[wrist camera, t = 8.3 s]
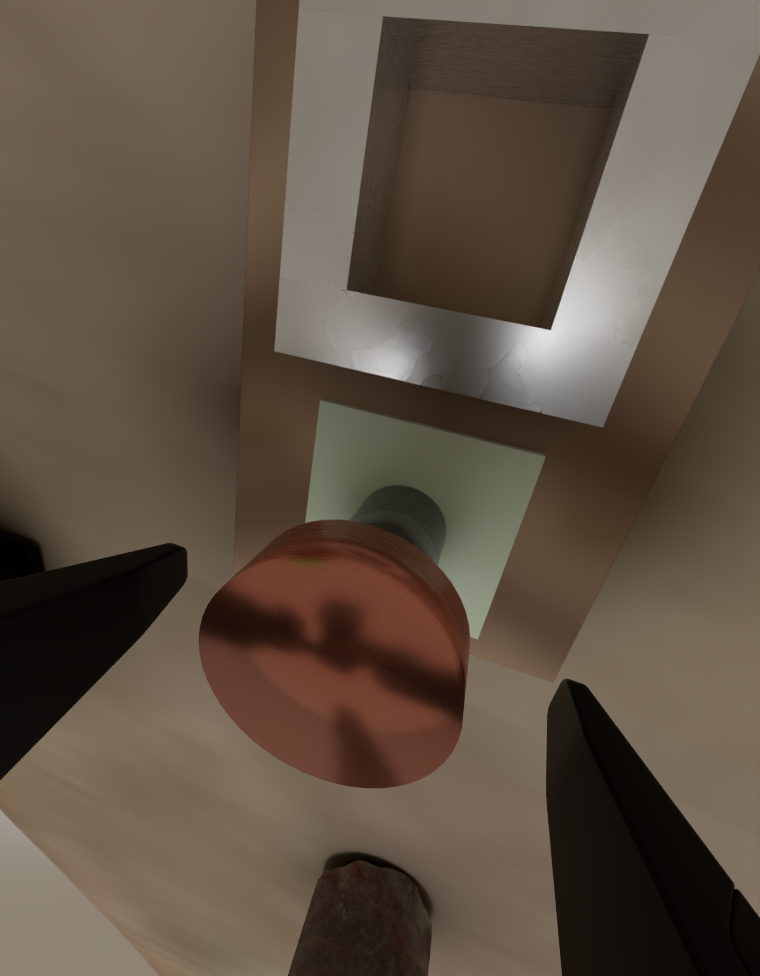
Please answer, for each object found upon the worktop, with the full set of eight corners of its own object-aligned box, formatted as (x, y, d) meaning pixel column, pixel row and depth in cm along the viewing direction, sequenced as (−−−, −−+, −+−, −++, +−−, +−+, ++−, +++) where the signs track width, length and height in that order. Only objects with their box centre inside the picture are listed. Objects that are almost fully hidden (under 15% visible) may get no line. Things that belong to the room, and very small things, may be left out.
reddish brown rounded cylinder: (457, 611, 14) (424, 824, 8) (320, 566, 15) (199, 727, 9) (501, 477, 12) (502, 627, 6) (340, 434, 13) (198, 527, 7)
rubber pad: (478, 633, 15) (477, 639, 14) (301, 574, 16) (298, 578, 16) (544, 453, 12) (545, 456, 12) (323, 399, 13) (319, 400, 13)
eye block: (582, 407, 11) (602, 427, 9) (314, 347, 13) (274, 351, 10) (738, 6, 8) (833, -123, 6) (354, -14, 9) (308, -125, 7)
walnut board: (548, 652, 16) (553, 682, 15) (253, 553, 18) (233, 571, 17) (844, 31, 9) (907, -23, 7) (288, -3, 11) (258, -50, 10)
